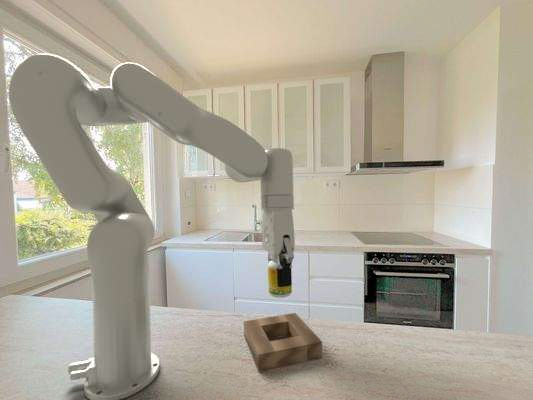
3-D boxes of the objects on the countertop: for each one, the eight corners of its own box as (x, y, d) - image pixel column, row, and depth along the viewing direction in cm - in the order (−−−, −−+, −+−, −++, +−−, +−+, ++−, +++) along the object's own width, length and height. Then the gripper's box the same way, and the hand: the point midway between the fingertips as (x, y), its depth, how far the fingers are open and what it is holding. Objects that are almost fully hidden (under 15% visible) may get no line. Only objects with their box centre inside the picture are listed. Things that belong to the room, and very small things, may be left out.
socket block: (258, 372, 49) (258, 354, 49) (244, 335, 62) (243, 321, 62) (322, 357, 53) (322, 341, 53) (295, 326, 66) (295, 312, 66)
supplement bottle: (282, 287, 61) (281, 248, 61) (296, 294, 57) (295, 252, 57) (264, 292, 58) (262, 252, 58) (277, 300, 54) (276, 256, 54)
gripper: (252, 203, 64) (254, 273, 65) (273, 204, 48) (276, 298, 48) (280, 202, 67) (282, 270, 67) (309, 203, 50) (311, 292, 50)
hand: (279, 280), depth 57 cm, fingers closed on supplement bottle, 5 cm apart
